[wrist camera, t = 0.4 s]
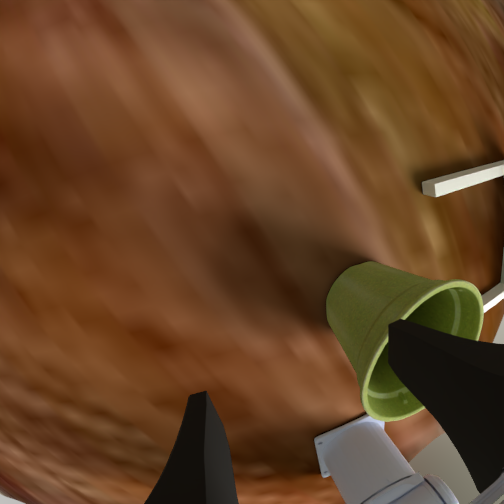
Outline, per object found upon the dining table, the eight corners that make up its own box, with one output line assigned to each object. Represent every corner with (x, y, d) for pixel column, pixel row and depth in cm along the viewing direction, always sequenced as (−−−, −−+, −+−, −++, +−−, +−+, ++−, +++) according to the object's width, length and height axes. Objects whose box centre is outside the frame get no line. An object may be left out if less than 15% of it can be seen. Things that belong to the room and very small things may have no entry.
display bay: (503, 286, 28) (533, 302, 23) (425, 338, 26) (457, 364, 21) (506, 159, 23) (543, 165, 18) (421, 181, 21) (468, 190, 16)
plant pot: (424, 272, 23) (499, 315, 15) (362, 363, 25) (417, 427, 17) (352, 213, 20) (442, 248, 12) (278, 327, 22) (327, 410, 14)
